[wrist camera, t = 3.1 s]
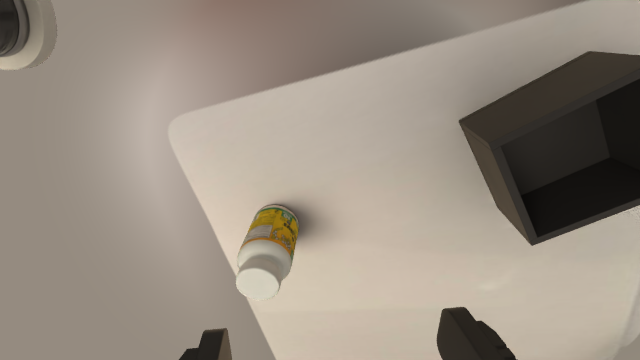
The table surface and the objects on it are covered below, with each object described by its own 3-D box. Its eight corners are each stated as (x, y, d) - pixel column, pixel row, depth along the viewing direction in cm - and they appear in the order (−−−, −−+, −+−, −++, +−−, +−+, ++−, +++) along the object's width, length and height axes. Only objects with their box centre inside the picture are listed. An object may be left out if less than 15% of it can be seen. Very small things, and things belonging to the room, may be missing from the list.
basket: (458, 120, 28) (488, 143, 23) (589, 51, 25) (663, 56, 19) (497, 207, 32) (531, 246, 27) (614, 157, 29) (683, 188, 23)
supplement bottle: (248, 207, 34) (218, 266, 26) (292, 199, 34) (276, 257, 25) (263, 244, 37) (239, 309, 28) (304, 237, 36) (293, 302, 27)
